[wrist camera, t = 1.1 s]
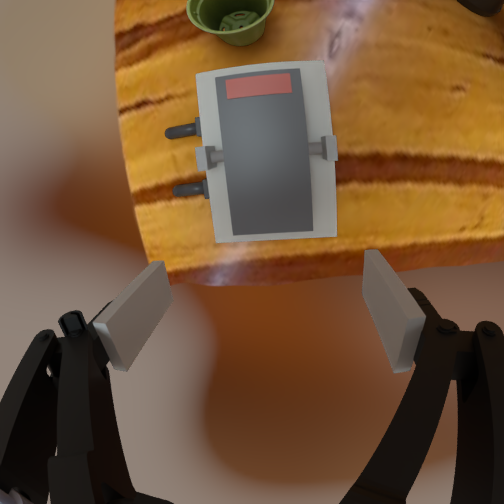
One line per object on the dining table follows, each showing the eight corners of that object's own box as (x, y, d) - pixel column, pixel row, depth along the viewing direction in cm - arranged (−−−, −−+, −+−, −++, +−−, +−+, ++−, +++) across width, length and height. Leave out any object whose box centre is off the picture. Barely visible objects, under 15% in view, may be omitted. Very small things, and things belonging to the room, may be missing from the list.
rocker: (312, 71, 23) (313, 67, 21) (324, 225, 28) (326, 230, 27) (206, 83, 24) (201, 79, 23) (223, 231, 30) (220, 236, 28)
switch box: (317, 73, 29) (328, 49, 20) (329, 222, 36) (342, 248, 27) (163, 94, 32) (127, 82, 23) (181, 231, 39) (152, 258, 30)
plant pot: (203, 10, 27) (183, -17, 19) (270, -3, 25) (266, -35, 17) (211, 63, 30) (190, 42, 22) (282, 50, 29) (281, 25, 21)
